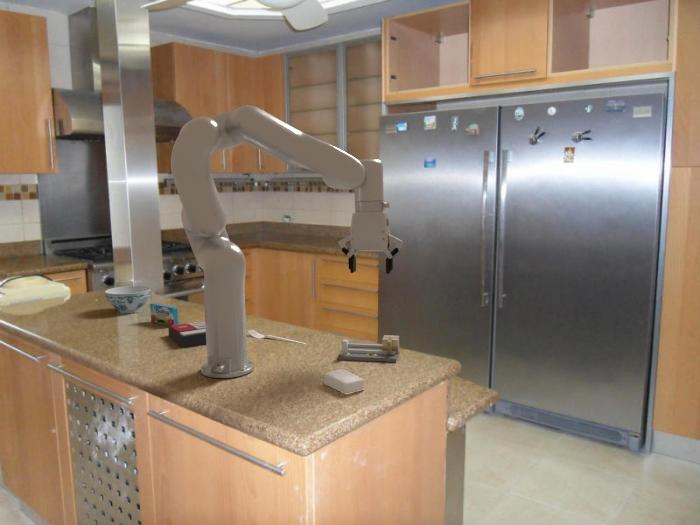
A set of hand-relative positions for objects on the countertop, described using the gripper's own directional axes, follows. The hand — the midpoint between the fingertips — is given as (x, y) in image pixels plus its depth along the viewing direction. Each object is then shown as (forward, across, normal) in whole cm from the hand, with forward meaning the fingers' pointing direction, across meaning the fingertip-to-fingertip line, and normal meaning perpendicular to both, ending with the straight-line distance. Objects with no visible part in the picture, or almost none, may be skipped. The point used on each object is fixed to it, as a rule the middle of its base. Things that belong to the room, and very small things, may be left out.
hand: (370, 272), depth 154 cm
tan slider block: (+20, -6, +4) cm, 21 cm away
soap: (+21, 0, +29) cm, 36 cm away
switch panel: (+21, 0, +5) cm, 22 cm away
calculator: (+21, +53, +2) cm, 57 cm away
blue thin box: (+20, +71, -10) cm, 75 cm away
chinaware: (+20, +94, -23) cm, 99 cm away
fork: (+21, +29, -3) cm, 36 cm away
